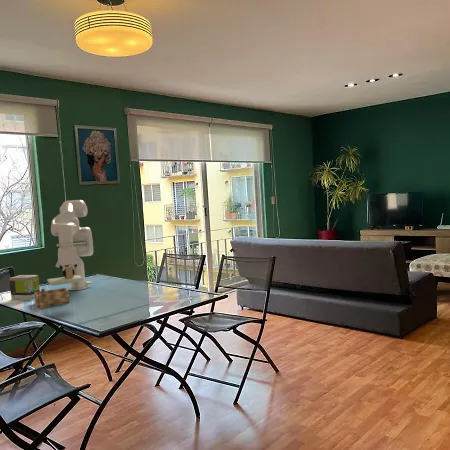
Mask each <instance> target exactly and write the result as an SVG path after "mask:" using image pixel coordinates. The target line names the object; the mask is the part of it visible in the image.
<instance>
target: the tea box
mask: <svg viewBox="0 0 450 450" xmlns="http://www.w3.org/2000/svg"><path fill="white" fill-rule="evenodd" d="M8 278H9V279H8V280H9V287H10V288H9V289H10V299H11V301H33V300H35V293H34V292H40V291H41V289H40V278H39V274H25V275H24V274H20V275H16V276H13V277H8Z"/></svg>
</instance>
